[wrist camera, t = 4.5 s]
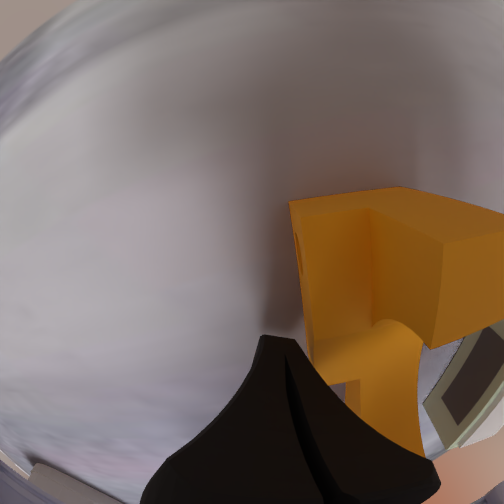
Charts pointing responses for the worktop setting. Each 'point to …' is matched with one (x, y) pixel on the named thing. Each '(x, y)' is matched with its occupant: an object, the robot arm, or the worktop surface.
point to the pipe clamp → (393, 292)
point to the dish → (66, 487)
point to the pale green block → (471, 390)
